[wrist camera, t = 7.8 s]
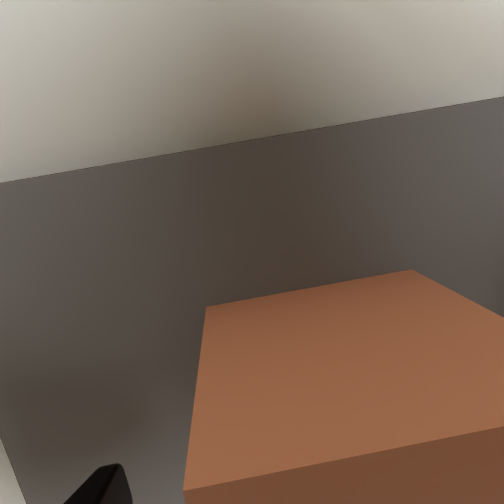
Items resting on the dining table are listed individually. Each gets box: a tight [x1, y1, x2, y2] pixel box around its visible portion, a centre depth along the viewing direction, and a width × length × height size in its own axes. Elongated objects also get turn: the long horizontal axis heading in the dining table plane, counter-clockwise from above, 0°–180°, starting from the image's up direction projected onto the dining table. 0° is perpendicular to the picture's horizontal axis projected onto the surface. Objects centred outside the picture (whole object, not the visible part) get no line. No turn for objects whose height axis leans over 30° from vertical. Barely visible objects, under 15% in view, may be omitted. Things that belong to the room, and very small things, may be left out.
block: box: [183, 269, 504, 504], centre depth 7 cm, size 5×5×5 cm
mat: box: [0, 97, 504, 504], centre depth 9 cm, size 16×12×1 cm
